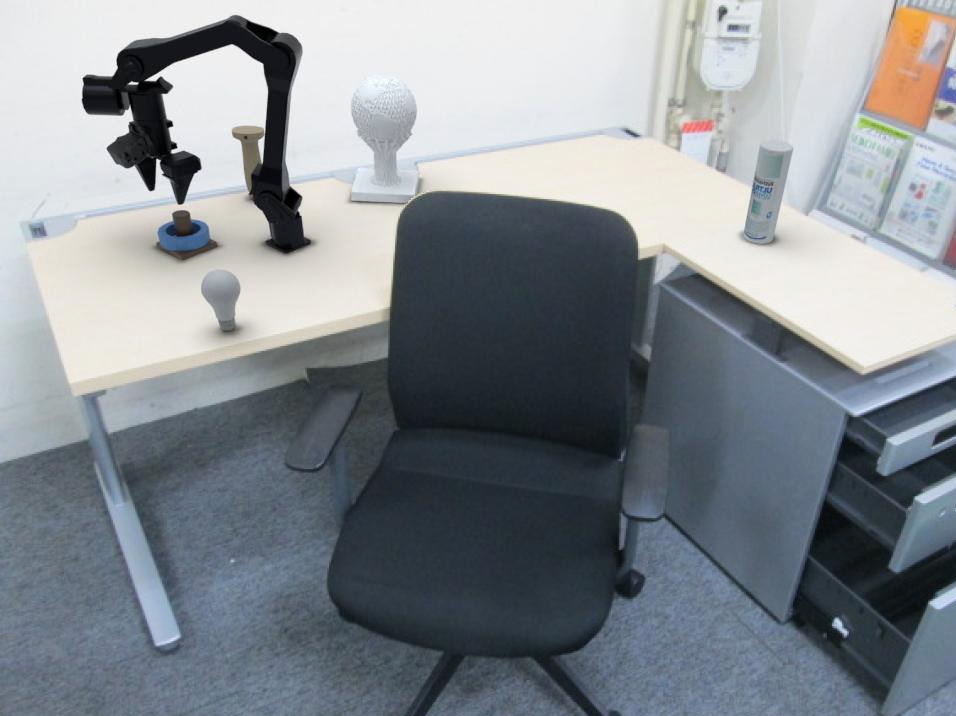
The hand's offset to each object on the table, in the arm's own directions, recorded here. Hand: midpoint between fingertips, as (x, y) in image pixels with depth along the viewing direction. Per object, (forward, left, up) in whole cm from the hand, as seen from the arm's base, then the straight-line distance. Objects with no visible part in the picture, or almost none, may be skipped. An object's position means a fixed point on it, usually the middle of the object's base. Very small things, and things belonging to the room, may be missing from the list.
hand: (166, 197), depth 174 cm
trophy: (-12, -46, -9) cm, 48 cm away
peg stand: (-4, 0, -9) cm, 10 cm away
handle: (+5, -24, -9) cm, 26 cm away
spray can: (-86, -82, -9) cm, 119 cm away
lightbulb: (-35, +14, -9) cm, 39 cm away
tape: (-3, 0, -8) cm, 9 cm away
